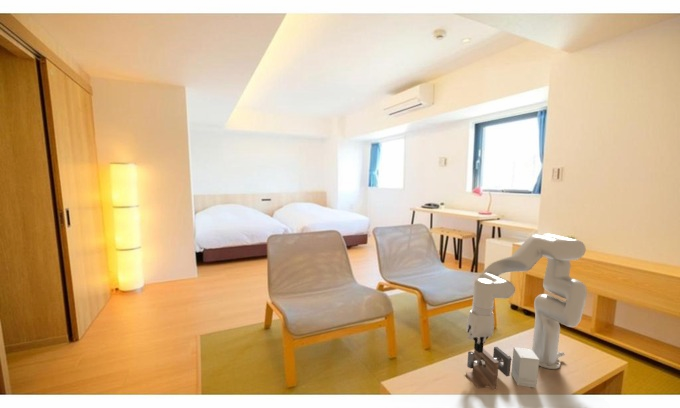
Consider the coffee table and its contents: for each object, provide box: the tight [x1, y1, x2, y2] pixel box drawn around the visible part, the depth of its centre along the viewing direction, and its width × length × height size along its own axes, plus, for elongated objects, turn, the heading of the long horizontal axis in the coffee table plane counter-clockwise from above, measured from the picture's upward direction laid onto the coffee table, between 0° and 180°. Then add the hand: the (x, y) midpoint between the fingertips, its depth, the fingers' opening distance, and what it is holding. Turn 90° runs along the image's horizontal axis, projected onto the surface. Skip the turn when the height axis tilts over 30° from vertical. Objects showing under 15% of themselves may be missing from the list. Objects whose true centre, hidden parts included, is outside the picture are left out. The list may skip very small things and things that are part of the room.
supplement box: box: [510, 346, 540, 389], centre depth 123 cm, size 7×7×13 cm
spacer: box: [492, 346, 512, 377], centre depth 125 cm, size 2×8×8 cm, turn 13°
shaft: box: [466, 350, 513, 369], centre depth 123 cm, size 20×2×6 cm, turn 102°
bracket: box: [465, 348, 499, 391], centre depth 123 cm, size 7×12×12 cm, turn 12°
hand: (478, 350), depth 122 cm, fingers closed
